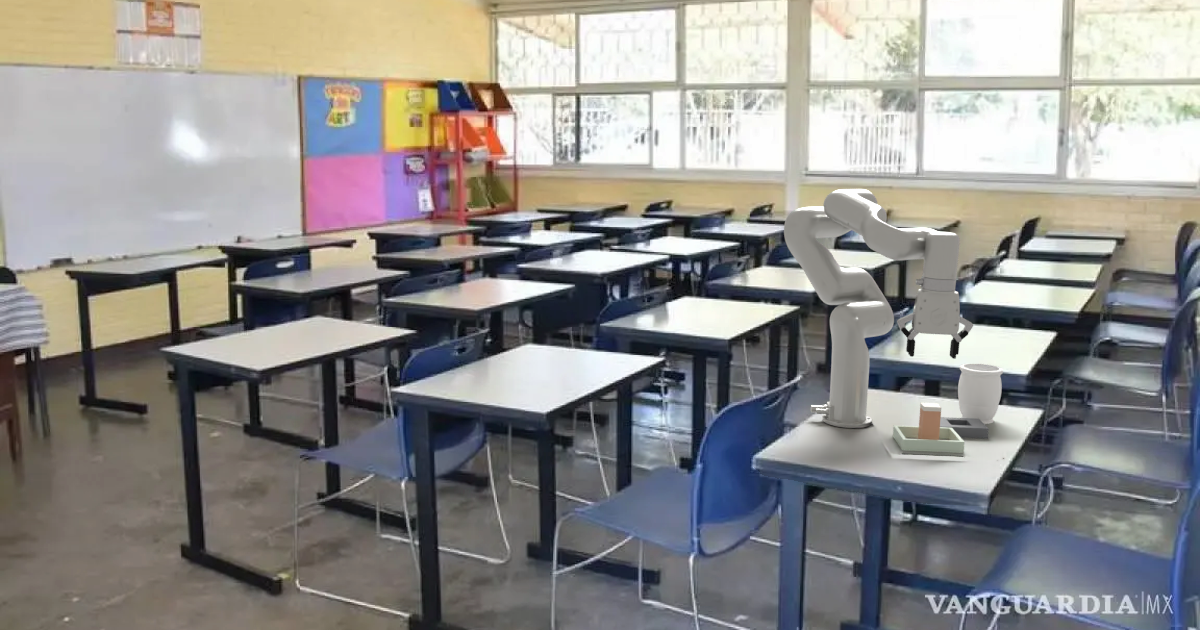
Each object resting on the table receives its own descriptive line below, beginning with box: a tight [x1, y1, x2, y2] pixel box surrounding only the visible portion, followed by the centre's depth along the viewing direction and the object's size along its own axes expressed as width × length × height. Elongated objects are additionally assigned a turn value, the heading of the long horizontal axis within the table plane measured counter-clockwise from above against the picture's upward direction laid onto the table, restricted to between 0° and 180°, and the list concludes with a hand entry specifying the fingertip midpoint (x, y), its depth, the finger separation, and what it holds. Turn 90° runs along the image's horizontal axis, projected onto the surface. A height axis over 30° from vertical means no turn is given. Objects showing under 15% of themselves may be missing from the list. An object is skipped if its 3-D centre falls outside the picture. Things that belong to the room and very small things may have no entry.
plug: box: [917, 402, 942, 440], centre depth 247 cm, size 4×4×10 cm
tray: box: [892, 425, 965, 458], centre depth 247 cm, size 14×12×4 cm
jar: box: [957, 363, 1004, 425], centre depth 269 cm, size 11×10×15 cm
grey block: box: [940, 416, 990, 439], centre depth 258 cm, size 12×9×4 cm
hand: (931, 356), depth 244 cm, fingers open, 9 cm apart
